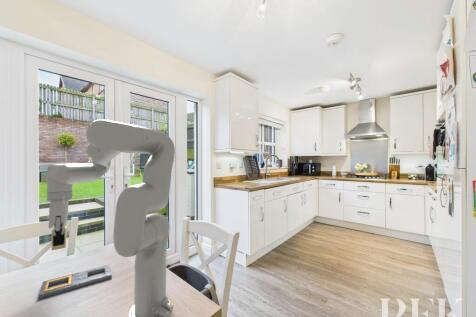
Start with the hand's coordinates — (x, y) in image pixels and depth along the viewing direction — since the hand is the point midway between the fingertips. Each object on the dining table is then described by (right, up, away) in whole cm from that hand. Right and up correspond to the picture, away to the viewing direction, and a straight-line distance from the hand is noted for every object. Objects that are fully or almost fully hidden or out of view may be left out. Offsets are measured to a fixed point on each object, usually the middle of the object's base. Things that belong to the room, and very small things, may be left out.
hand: (59, 242), depth 79 cm
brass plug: (0, -2, 0) cm, 2 cm away
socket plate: (+5, -17, +3) cm, 18 cm away
